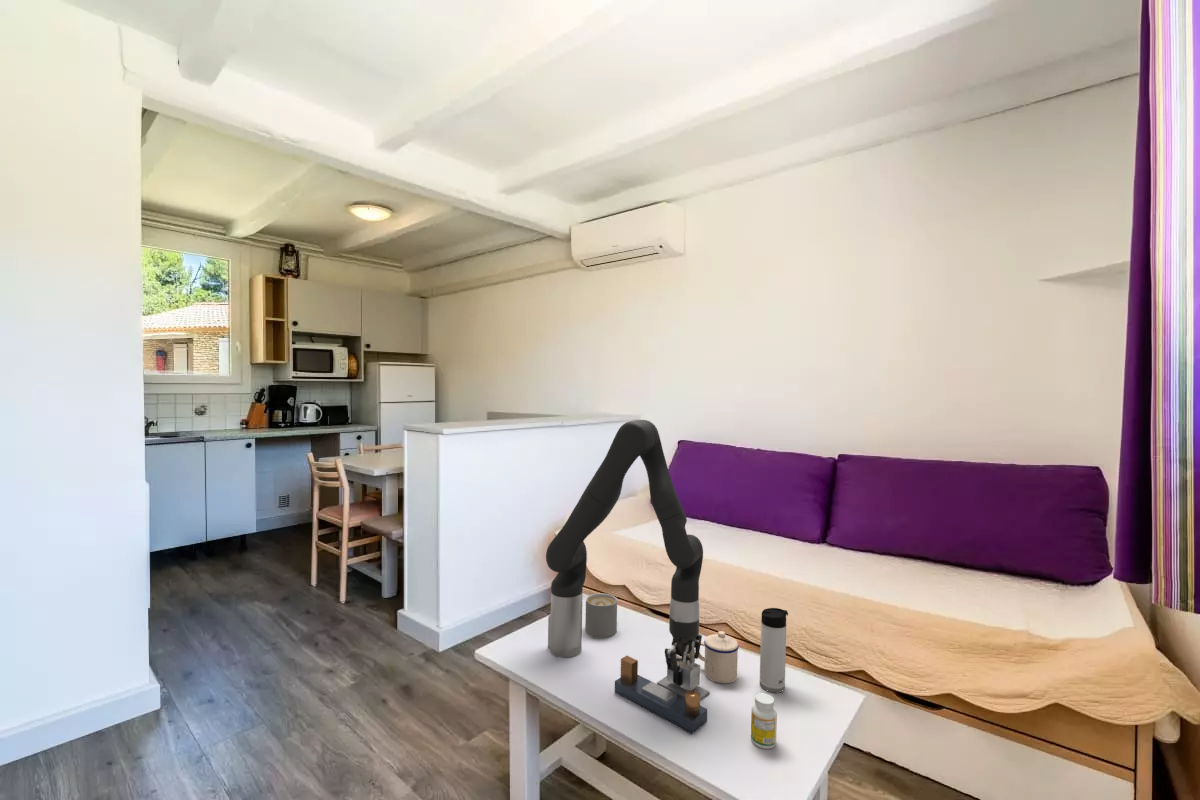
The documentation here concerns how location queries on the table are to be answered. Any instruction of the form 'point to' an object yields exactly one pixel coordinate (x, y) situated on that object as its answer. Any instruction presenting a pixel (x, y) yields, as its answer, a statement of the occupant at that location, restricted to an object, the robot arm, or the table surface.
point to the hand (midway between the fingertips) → (682, 680)
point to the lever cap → (687, 675)
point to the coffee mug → (601, 615)
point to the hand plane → (660, 698)
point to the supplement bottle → (763, 721)
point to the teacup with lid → (720, 657)
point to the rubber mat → (680, 690)
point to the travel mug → (773, 649)
